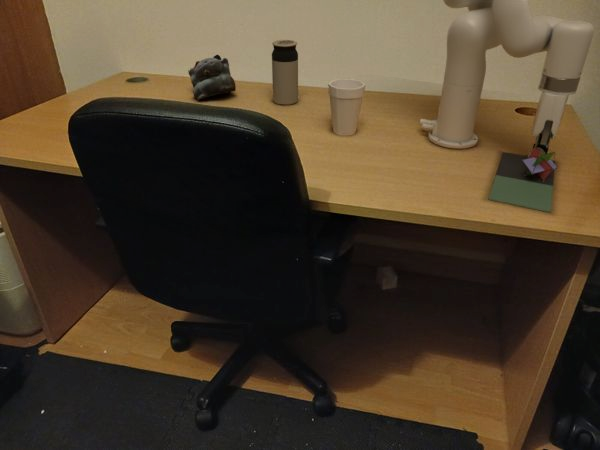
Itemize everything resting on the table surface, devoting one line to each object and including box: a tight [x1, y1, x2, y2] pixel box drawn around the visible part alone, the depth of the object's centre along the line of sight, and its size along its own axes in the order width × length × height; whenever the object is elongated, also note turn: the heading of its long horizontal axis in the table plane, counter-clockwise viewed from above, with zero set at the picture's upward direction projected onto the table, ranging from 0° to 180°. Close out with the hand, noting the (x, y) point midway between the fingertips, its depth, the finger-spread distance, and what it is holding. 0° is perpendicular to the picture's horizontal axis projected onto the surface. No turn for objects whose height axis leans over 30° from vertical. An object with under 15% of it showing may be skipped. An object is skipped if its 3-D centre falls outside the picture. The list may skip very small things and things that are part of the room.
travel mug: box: [271, 39, 299, 106], centre depth 148 cm, size 8×8×18 cm
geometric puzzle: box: [522, 147, 558, 181], centre depth 107 cm, size 7×7×8 cm
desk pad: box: [487, 151, 556, 214], centre depth 108 cm, size 12×26×1 cm, turn 154°
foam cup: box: [328, 78, 366, 136], centre depth 128 cm, size 10×9×13 cm
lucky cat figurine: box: [187, 54, 237, 101], centre depth 155 cm, size 15×12×14 cm
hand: (536, 161), depth 113 cm, fingers closed
